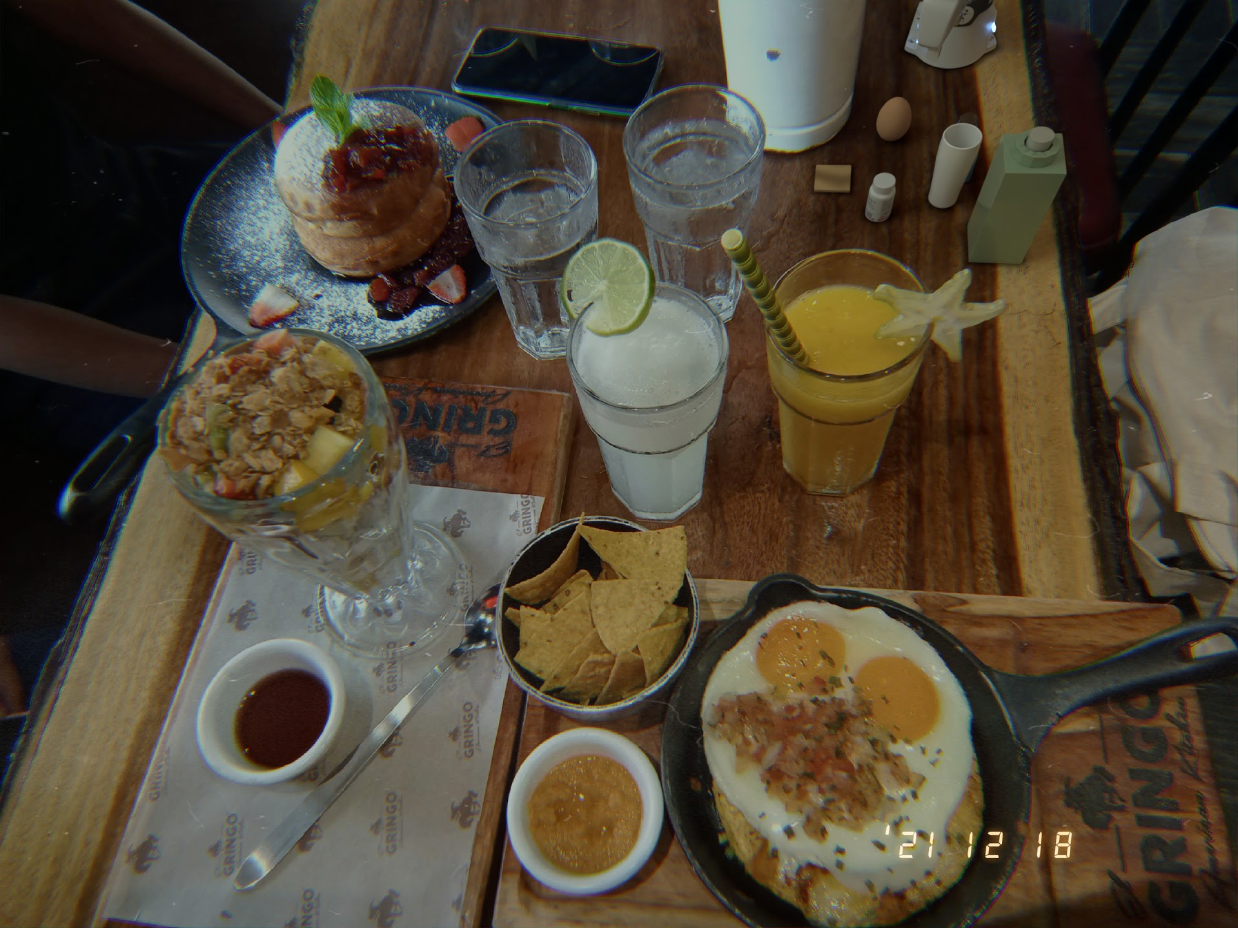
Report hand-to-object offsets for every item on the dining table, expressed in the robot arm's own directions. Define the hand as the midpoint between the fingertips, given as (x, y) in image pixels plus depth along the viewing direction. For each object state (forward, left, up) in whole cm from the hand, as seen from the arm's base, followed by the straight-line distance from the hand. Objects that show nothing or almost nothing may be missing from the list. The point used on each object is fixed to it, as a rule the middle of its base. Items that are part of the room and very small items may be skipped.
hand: (943, 40), depth 118 cm
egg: (-14, -3, -31) cm, 34 cm away
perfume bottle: (-5, +9, -31) cm, 33 cm away
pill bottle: (+7, -5, -31) cm, 32 cm away
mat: (-2, -14, -31) cm, 34 cm away
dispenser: (+14, +16, -31) cm, 37 cm away
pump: (+14, +16, -8) cm, 23 cm away
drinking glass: (+3, +7, -31) cm, 32 cm away
